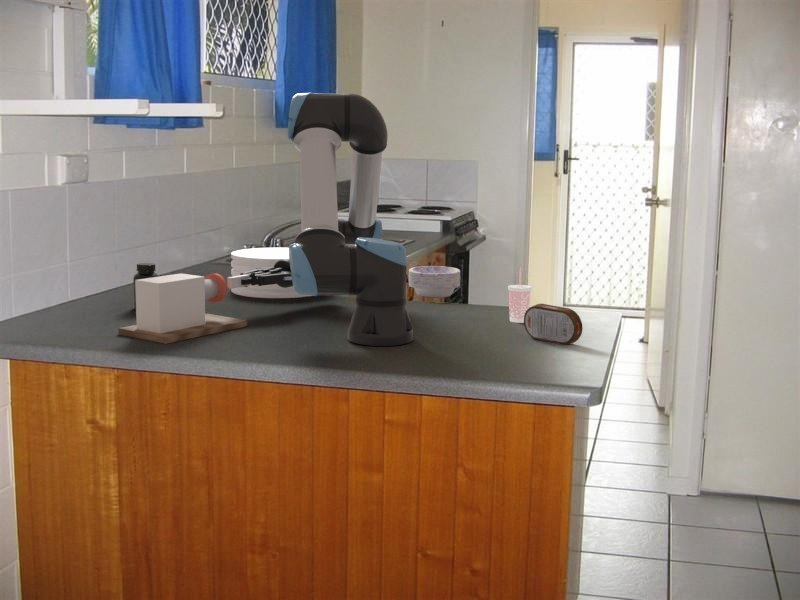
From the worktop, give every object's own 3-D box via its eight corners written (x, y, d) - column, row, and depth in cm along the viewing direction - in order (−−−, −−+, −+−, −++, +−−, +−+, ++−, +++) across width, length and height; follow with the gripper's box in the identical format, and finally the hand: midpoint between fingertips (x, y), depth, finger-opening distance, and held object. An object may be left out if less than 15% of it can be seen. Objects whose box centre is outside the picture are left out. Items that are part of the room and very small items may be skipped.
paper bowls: (423, 301, 282) (424, 273, 281) (399, 293, 295) (399, 266, 294) (469, 298, 289) (470, 271, 287) (443, 290, 302) (444, 264, 301)
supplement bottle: (153, 311, 260) (151, 266, 258) (129, 310, 261) (127, 265, 259) (164, 307, 266) (163, 262, 264) (140, 305, 268) (139, 261, 266)
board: (200, 318, 251) (200, 312, 251) (246, 326, 242) (246, 320, 242) (118, 334, 230) (118, 328, 230) (165, 343, 221) (165, 337, 221)
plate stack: (333, 297, 287) (333, 258, 285) (235, 299, 280) (235, 259, 278) (317, 282, 314) (317, 246, 312) (227, 284, 307) (227, 248, 305)
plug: (206, 300, 246) (206, 272, 245) (227, 303, 242) (226, 274, 241) (163, 307, 235) (162, 278, 234) (184, 311, 231) (183, 281, 230)
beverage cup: (510, 323, 251) (512, 268, 249) (503, 318, 257) (505, 265, 255) (533, 323, 252) (535, 268, 250) (526, 318, 258) (528, 265, 256)
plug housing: (182, 320, 241) (181, 273, 239) (205, 324, 236) (204, 276, 234) (136, 329, 229) (135, 279, 227) (160, 333, 225) (159, 283, 223)
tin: (582, 345, 227) (584, 309, 225) (574, 347, 224) (576, 311, 223) (528, 335, 237) (530, 301, 235) (520, 337, 235) (522, 302, 233)
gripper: (310, 288, 263) (248, 300, 244) (273, 283, 271) (211, 294, 252) (310, 260, 262) (248, 270, 243) (273, 256, 269) (210, 265, 250)
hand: (229, 283), depth 247 cm, fingers closed
